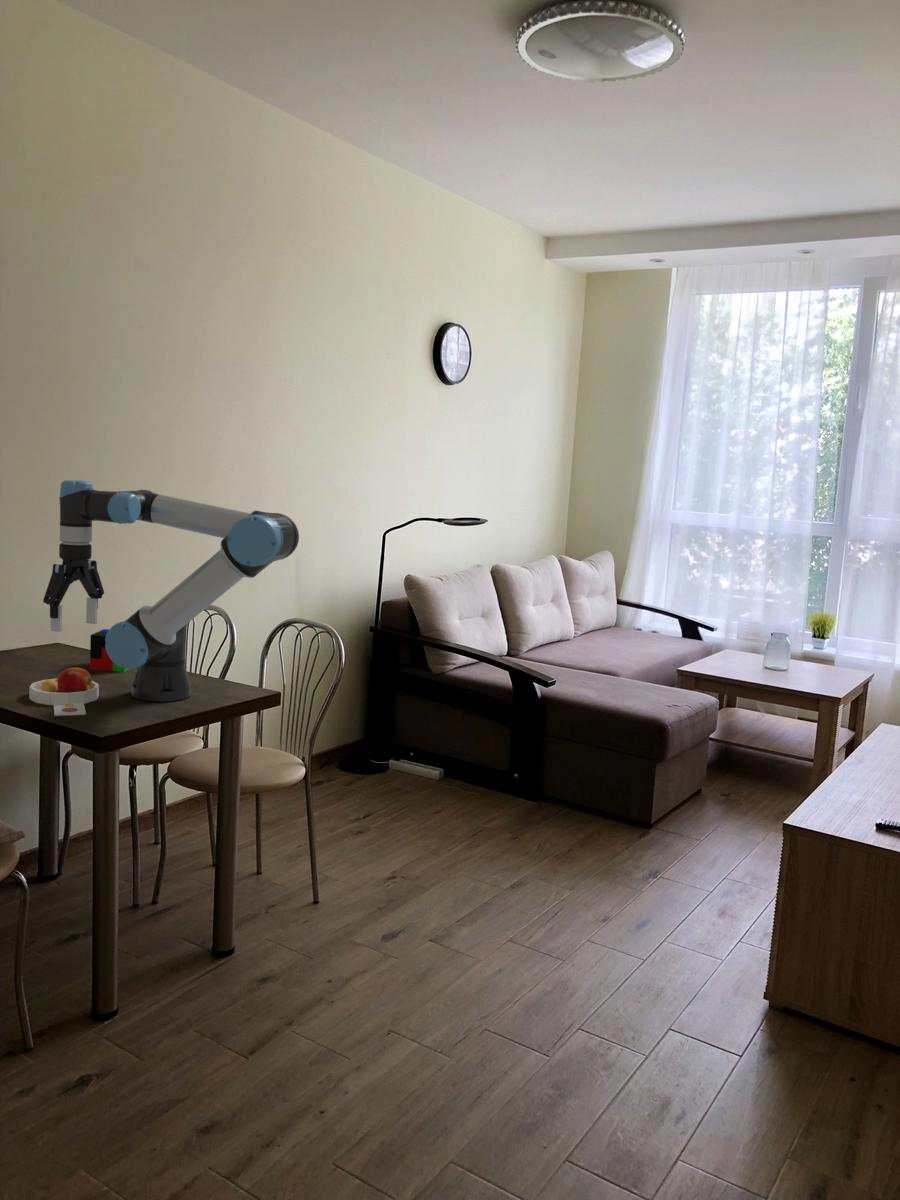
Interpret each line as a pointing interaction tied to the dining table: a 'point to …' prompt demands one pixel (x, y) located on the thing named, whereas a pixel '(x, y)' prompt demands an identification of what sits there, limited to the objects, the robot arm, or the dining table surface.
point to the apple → (74, 680)
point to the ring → (62, 695)
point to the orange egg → (49, 686)
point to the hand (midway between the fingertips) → (74, 627)
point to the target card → (69, 709)
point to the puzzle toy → (101, 653)
